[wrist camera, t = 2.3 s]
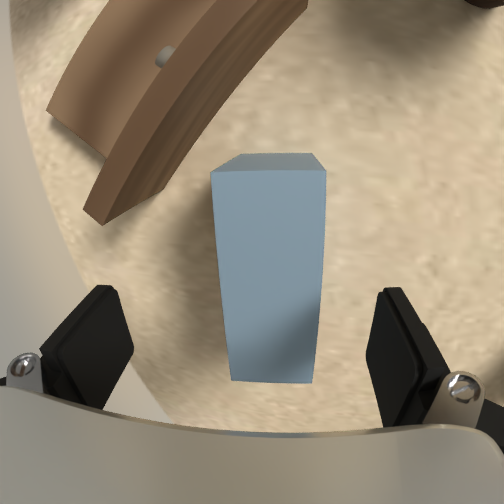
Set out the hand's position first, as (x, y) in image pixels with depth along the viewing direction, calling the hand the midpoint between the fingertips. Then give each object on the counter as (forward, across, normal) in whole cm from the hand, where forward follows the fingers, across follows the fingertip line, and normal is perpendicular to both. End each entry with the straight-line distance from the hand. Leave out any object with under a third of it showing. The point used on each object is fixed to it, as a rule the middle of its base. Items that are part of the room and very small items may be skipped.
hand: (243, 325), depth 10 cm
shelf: (+9, +6, -12) cm, 16 cm away
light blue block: (+9, -1, 0) cm, 9 cm away
